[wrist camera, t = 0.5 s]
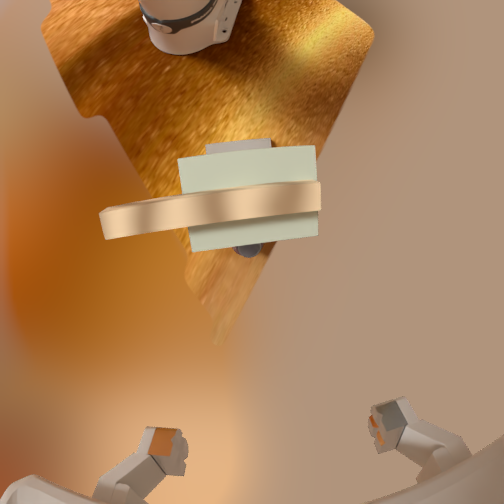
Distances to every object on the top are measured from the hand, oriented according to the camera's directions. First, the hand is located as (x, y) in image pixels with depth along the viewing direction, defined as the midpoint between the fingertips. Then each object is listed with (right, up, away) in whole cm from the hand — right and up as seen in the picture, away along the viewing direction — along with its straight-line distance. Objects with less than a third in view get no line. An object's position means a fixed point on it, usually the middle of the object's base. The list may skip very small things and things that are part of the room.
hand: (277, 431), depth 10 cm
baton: (-5, +12, +18) cm, 23 cm away
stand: (-3, +23, +43) cm, 48 cm away
